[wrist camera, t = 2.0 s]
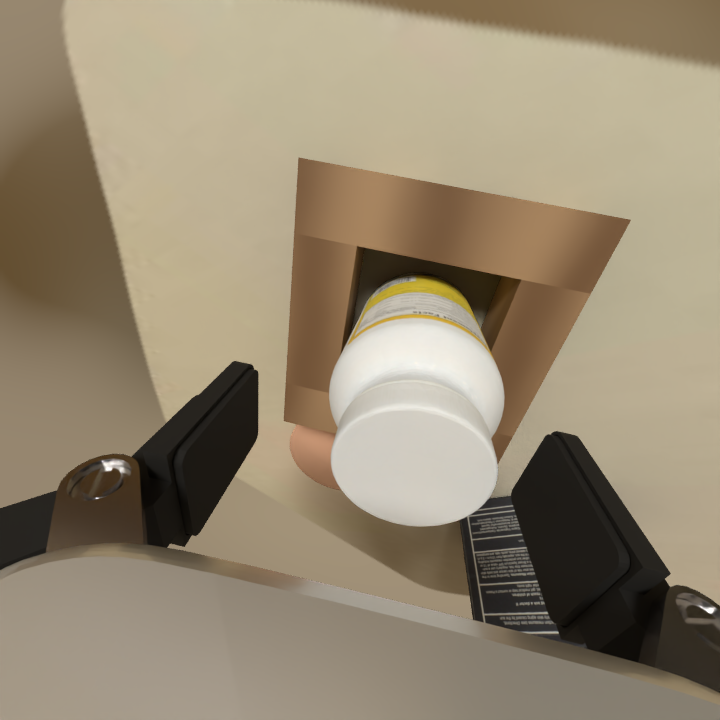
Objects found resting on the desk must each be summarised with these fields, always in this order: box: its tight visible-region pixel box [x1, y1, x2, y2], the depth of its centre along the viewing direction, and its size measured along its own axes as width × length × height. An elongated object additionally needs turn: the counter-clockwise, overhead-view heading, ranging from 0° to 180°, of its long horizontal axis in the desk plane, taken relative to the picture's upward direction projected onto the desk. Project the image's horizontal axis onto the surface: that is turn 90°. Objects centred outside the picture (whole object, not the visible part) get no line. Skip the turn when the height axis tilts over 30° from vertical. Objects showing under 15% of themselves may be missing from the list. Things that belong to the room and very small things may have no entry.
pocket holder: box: [284, 158, 631, 465], centre depth 18 cm, size 14×14×3 cm
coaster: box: [290, 424, 341, 490], centre depth 24 cm, size 8×8×1 cm
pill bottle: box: [329, 273, 504, 527], centre depth 14 cm, size 6×6×12 cm
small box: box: [460, 496, 587, 649], centre depth 20 cm, size 11×6×10 cm, turn 113°
